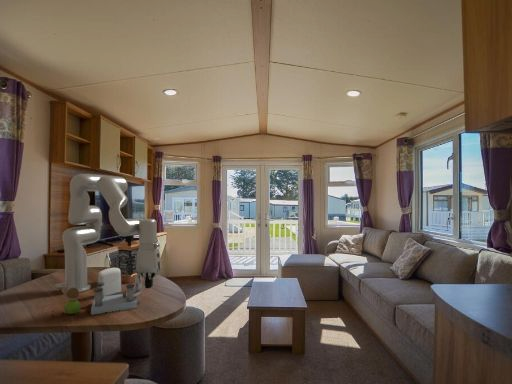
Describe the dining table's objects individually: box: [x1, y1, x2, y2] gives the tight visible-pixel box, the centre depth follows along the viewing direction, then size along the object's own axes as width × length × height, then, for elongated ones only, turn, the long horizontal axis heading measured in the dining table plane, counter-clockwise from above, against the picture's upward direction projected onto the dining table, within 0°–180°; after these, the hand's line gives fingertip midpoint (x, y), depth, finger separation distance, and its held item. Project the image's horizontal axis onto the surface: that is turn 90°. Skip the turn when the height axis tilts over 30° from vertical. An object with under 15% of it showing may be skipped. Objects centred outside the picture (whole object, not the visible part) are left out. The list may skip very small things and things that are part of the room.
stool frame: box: [90, 282, 138, 316], centre depth 130 cm, size 17×14×9 cm
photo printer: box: [97, 267, 122, 296], centre depth 145 cm, size 10×4×12 cm, turn 140°
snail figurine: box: [62, 284, 81, 315], centre depth 122 cm, size 5×6×12 cm
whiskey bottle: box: [117, 235, 139, 284], centre depth 169 cm, size 10×10×32 cm
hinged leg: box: [134, 275, 143, 297], centre depth 134 cm, size 8×3×8 cm, turn 168°
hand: (148, 287), depth 136 cm, fingers closed
